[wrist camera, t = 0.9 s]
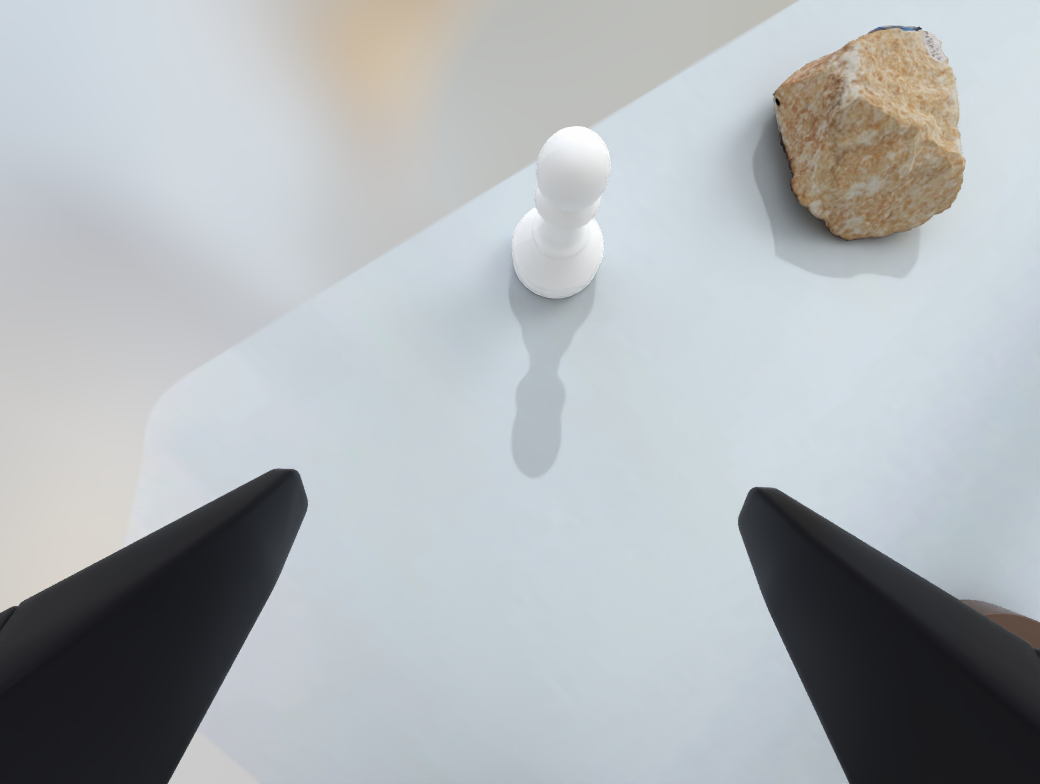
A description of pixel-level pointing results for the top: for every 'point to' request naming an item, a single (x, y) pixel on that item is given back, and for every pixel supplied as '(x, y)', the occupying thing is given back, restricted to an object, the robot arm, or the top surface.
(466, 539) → the top surface
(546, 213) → the chess pawn
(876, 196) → the stone
